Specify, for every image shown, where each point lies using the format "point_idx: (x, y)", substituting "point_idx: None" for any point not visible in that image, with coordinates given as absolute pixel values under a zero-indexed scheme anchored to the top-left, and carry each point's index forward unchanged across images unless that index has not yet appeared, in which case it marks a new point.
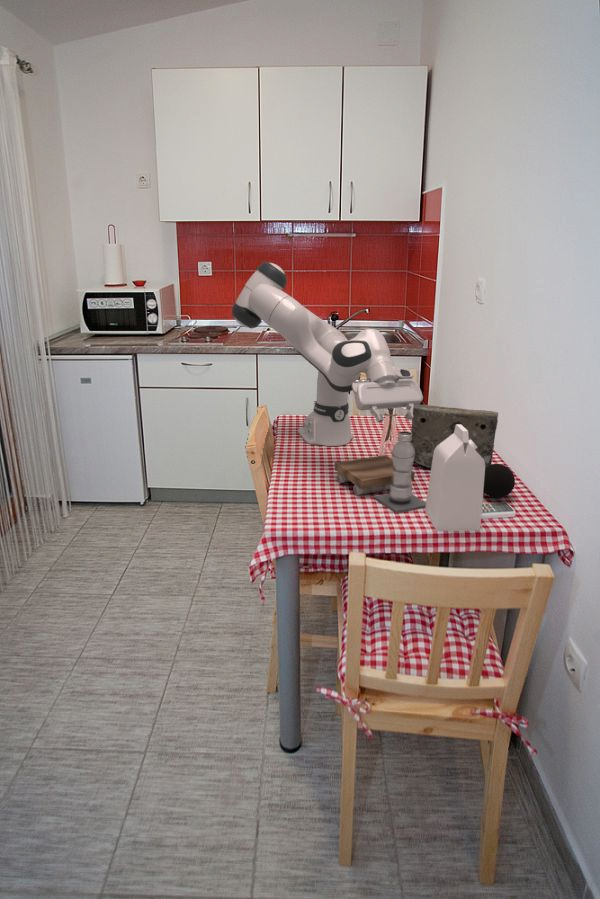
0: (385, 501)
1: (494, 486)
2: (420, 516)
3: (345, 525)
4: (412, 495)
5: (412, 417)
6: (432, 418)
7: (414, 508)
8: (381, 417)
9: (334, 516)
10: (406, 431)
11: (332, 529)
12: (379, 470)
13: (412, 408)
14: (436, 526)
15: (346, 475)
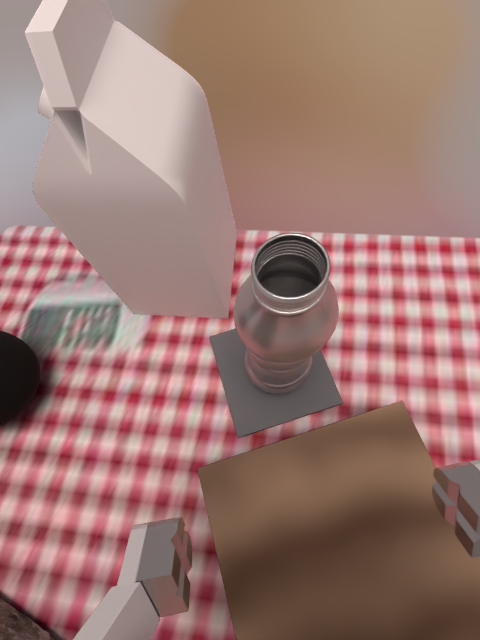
0: (317, 363)
1: (15, 337)
2: None
3: (428, 262)
4: (232, 397)
5: (144, 523)
6: None
7: None
8: (468, 477)
9: (456, 305)
10: (273, 294)
11: (458, 246)
12: (324, 501)
13: (84, 633)
14: (235, 232)
15: None
